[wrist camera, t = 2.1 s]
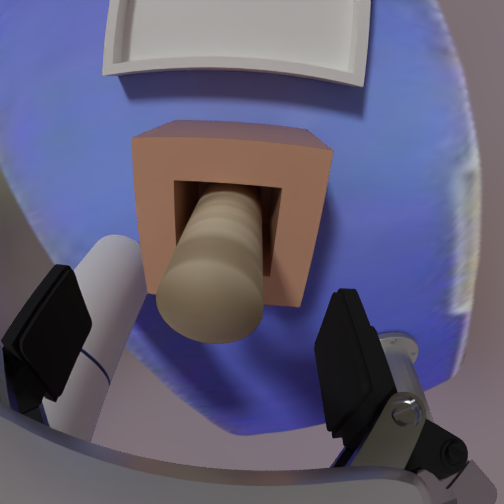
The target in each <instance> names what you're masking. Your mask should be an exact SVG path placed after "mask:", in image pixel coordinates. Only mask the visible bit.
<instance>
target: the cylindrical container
mask: <svg viewBox="0 0 504 504" xmlns="http://www.w3.org/2000/svg"><path fill="white" fill-rule="evenodd" d="M74 272H75V275H76V278H77V281H78V284H79V287H80V290H81V293H82V296H83V299H84V301H85V304H86V307H87V309H88V312H89V314H90V317H91V320H92V328H91V331H90V333H89V335H88V337H87V339H86V341H85V343H84V345H83V347H82V350H81V352H80V354H79V356H78V358H77V360H76V363H75V365H74V367H73V369H72V372H71V374H70V376H69V379H68V381H67V384H66V386H65V388H64V391H63V393H62V395H61V396H60V397H58V399H57V402H53V401H51V400H48V399H46V398H45V397H43V400H42V403H43V406H44V410H45V413H46V416H47V419H48V423H49V426H50V427H51V428H53V429H56V430H58V431H60V432H63V433H66V434H68V435H71V436H73V437H76V438H79V439H82V440H85V441H87V442H90V443H91V440H92V437H93V433H94V430H95V427H96V424H97V421H98V418H99V415H100V412H101V409H102V406H103V403H104V400H105V397H106V395H107V392H108V389H109V386H110V384H111V381H112V378H113V375H114V373H115V370H116V367H117V365H118V362H119V360H120V357H121V355H122V352H123V350H124V347H125V345H126V342H127V340H128V338H129V335H130V333H131V330H132V328H133V326H134V323H135V321H136V319H137V316H138V314H139V312H140V309H141V307H142V305H143V303H144V301H145V298H146V296H147V294H148V291H147V286H146V280H145V274H144V267H143V261H142V254H141V247H140V244H139V243H137V242H136V241H134V240H133V239H131V238H128V237H126V236H122V235H108V236H105V237H103V238H101V239H100V240H99V241H98V242H97V243H96V244H95V245H94V246H93V248H92V249H91V250H90V251H89V252H88V254H87V255H86V256H85V257H84V258H83V260H82V261H81V262H80V263H79V265H78V266H77V267H76V268H75V270H74Z"/></svg>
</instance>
